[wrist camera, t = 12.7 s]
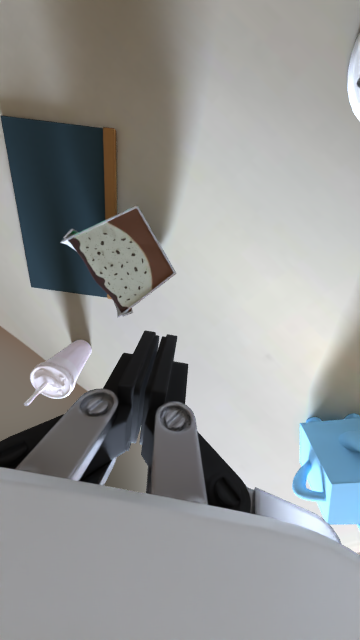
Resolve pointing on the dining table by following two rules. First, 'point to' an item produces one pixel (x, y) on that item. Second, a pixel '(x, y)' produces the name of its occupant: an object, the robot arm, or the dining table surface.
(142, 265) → the food container
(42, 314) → the dining table surface
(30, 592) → the robot arm
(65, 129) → the dark blue notebook
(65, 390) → the smoothie
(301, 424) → the teakettle
